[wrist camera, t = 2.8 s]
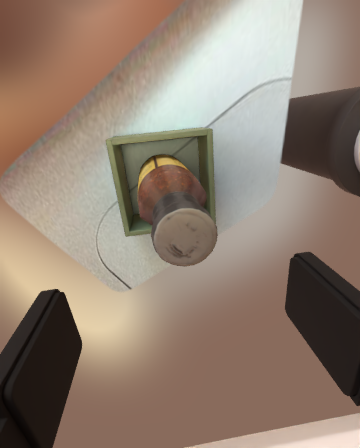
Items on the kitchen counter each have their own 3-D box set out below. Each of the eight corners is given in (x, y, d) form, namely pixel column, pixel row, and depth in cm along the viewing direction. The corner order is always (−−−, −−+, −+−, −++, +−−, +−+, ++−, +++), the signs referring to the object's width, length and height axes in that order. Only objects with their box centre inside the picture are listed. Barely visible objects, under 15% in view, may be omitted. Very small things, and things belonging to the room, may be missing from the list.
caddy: (201, 127, 31) (212, 128, 25) (205, 209, 35) (215, 225, 30) (113, 136, 30) (105, 139, 24) (129, 218, 34) (125, 236, 29)
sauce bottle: (149, 204, 34) (146, 299, 16) (132, 161, 31) (105, 216, 13) (192, 188, 34) (241, 266, 16) (179, 144, 31) (217, 176, 13)
